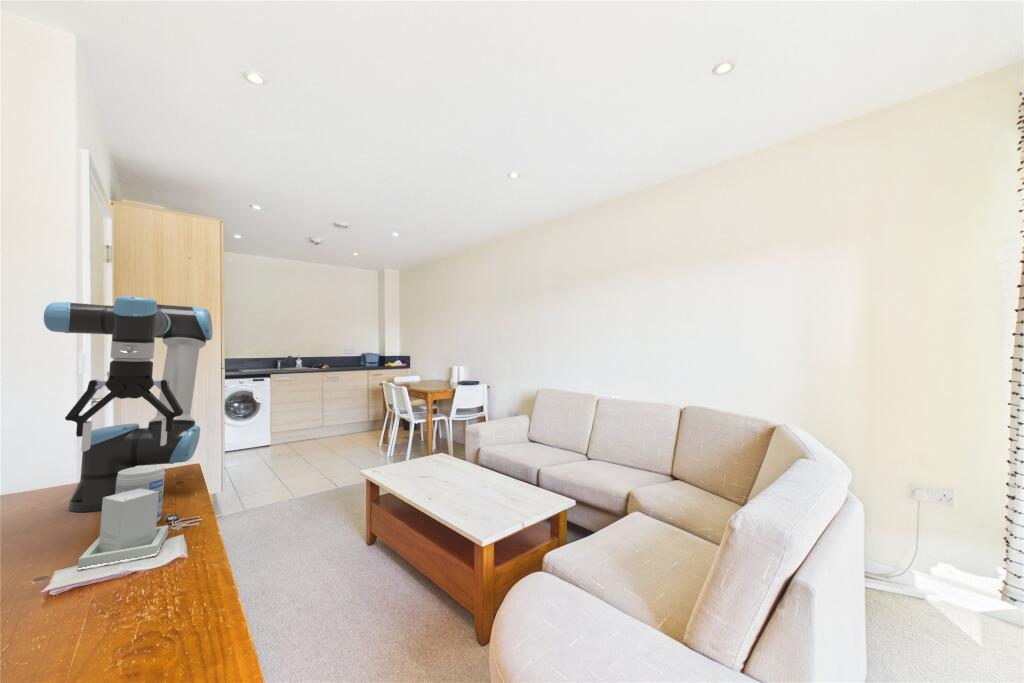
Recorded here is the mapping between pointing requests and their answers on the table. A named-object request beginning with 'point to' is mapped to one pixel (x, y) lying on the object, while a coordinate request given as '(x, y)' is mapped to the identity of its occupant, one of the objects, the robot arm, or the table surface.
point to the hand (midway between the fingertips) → (126, 447)
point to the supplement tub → (142, 481)
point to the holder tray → (122, 551)
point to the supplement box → (128, 520)
